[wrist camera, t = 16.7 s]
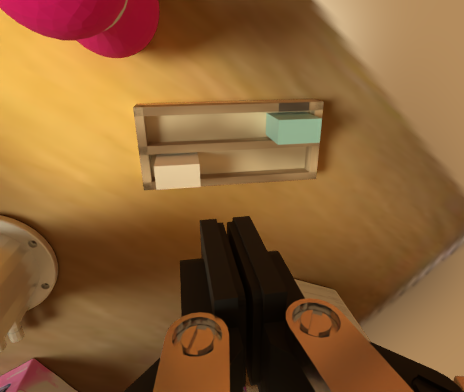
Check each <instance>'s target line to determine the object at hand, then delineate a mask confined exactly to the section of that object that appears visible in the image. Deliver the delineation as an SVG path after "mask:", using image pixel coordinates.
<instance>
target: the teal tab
mask: <svg viewBox="0 0 464 392" xmlns="http://www.w3.org/2000/svg"><path fill="white" fill-rule="evenodd" d="M321 125H322V118H320V117H317V116H315V115H312V114H309V113H307V112H276V113H266V135H267V136H268V137H269V138H270V139H272V140H273V141H274V142H275V143H276V144H278V145H283V144H303V143H320V135H321Z"/></svg>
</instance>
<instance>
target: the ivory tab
mask: <svg viewBox="0 0 464 392" xmlns="http://www.w3.org/2000/svg"><path fill="white" fill-rule="evenodd" d="M154 173H155V182H156V190H161V189H177V188H192V187H201V183H200V164H199V159H198V154H197V152H191V153H171V154H157V155H156V159H155V163H154Z"/></svg>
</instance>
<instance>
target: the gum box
mask: <svg viewBox="0 0 464 392" xmlns="http://www.w3.org/2000/svg"><path fill="white" fill-rule="evenodd" d="M0 392H78V391H76V390H75V389H73V388H72V387H71V386H69V385H68V384H67V383H66V382H65V381H64V380H62V379H61V378H60V377H58V376H57V375H56V374H54V373H53V372H51V371H50V370H49V369H47V368H46V367H45V366H43V365H42V364H41V363H39V362H38V361H37V360H36V359H34V358H33V359H31V360H30V361H28V362H26V363H24V364H22V365H21V366H19V367H17V368H15V369H13V370H11V371H9V372H7V373H6V374H4V375H2V376H1V377H0Z"/></svg>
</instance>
